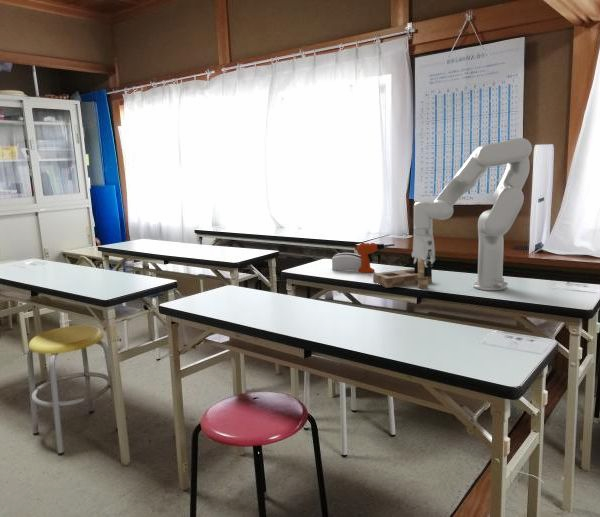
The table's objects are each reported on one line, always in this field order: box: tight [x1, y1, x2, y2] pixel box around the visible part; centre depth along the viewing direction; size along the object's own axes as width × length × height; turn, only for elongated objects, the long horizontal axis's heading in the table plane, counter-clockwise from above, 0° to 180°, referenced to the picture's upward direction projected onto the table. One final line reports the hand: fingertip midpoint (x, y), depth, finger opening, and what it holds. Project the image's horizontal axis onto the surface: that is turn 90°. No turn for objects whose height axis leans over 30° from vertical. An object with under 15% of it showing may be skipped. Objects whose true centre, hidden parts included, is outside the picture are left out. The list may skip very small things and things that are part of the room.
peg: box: [417, 258, 429, 290], centre depth 215 cm, size 4×4×14 cm
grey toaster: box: [331, 252, 362, 272], centre depth 258 cm, size 17×5×10 cm, turn 67°
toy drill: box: [356, 242, 396, 274], centre depth 249 cm, size 5×19×15 cm, turn 76°
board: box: [372, 268, 433, 289], centre depth 228 cm, size 12×22×4 cm, turn 110°
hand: (422, 274), depth 215 cm, fingers open, 6 cm apart
